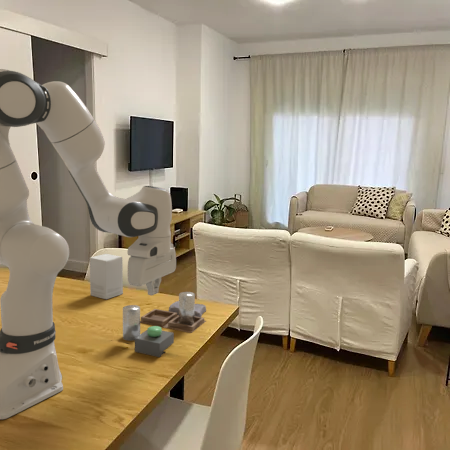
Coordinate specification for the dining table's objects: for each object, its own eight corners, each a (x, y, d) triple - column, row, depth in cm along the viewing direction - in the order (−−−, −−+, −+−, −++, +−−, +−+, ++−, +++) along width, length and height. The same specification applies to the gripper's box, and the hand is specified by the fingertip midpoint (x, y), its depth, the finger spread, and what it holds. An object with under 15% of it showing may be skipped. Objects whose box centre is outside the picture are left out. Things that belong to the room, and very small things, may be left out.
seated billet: (189, 328, 142) (190, 297, 140) (175, 325, 144) (176, 295, 142) (196, 322, 146) (197, 293, 145) (183, 320, 148) (183, 291, 147)
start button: (156, 349, 126) (157, 332, 126) (144, 346, 128) (144, 330, 127) (164, 344, 130) (164, 327, 129) (152, 341, 131) (152, 325, 131)
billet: (134, 344, 131) (133, 311, 129) (119, 341, 133) (119, 309, 131) (143, 338, 136) (143, 306, 134) (129, 335, 137) (128, 304, 136)
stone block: (176, 312, 163) (166, 317, 153) (178, 299, 163) (167, 302, 153) (208, 318, 160) (199, 322, 150) (209, 304, 160) (200, 308, 150)
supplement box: (123, 294, 176) (123, 256, 173) (106, 300, 168) (105, 261, 166) (107, 289, 180) (106, 253, 178) (89, 295, 173) (88, 257, 170)
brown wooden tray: (191, 336, 138) (191, 328, 138) (138, 325, 145) (138, 318, 145) (206, 323, 149) (206, 316, 148) (156, 314, 156) (156, 307, 155)
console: (159, 357, 124) (159, 343, 123) (134, 351, 127) (134, 338, 126) (173, 345, 131) (173, 332, 131) (149, 340, 134) (149, 328, 134)
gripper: (163, 238, 135) (161, 283, 137) (123, 249, 116) (122, 301, 118) (182, 241, 132) (180, 286, 134) (144, 253, 114) (143, 305, 116)
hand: (153, 294), depth 126 cm, fingers closed
